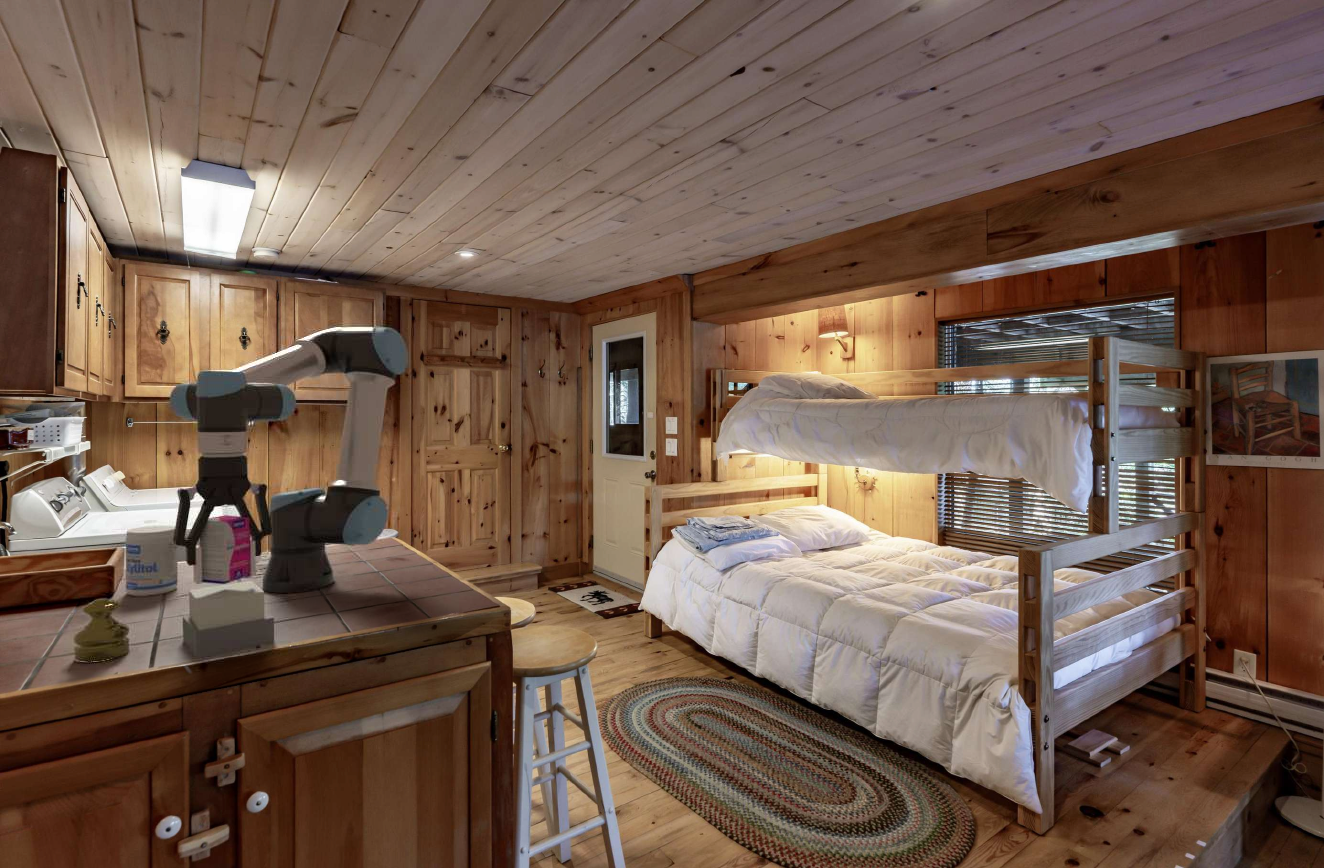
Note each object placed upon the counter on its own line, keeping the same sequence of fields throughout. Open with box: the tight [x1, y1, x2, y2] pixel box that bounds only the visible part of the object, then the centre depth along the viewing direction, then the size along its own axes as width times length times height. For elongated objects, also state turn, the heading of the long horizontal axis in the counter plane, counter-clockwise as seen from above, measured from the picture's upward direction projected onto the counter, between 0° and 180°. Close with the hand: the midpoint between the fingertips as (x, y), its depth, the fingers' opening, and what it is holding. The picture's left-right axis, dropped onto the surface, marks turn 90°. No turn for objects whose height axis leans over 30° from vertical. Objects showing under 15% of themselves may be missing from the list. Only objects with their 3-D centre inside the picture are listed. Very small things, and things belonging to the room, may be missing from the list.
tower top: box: [188, 580, 265, 631], centre depth 122 cm, size 10×10×5 cm
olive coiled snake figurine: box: [72, 597, 130, 662], centre depth 115 cm, size 7×7×10 cm
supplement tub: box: [125, 525, 179, 597], centre depth 153 cm, size 10×10×15 cm
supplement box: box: [199, 514, 251, 585], centre depth 121 cm, size 6×6×12 cm
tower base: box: [182, 609, 275, 660], centre depth 123 cm, size 12×12×5 cm
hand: (225, 577), depth 122 cm, fingers closed on supplement box, 8 cm apart
